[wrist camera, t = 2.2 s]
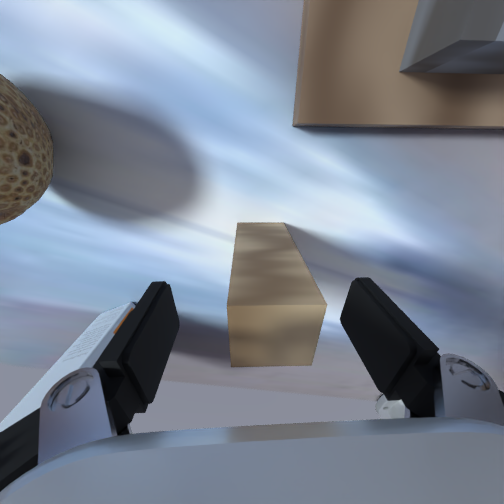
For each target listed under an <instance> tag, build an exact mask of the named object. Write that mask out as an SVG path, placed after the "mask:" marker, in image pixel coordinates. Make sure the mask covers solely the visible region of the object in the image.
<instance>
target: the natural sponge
mask: <svg viewBox="0 0 504 504" xmlns="http://www.w3.org/2000/svg"><path fill="white" fill-rule="evenodd" d="M52 176H53V141H52V138H51V135H50V132H49V129H48V127H47V125H46V124H45V122H44V120H43V119H42V117H41V115H40V114H39V112H38V111H37V109H36V108H35V107H34V105H33V104H32V103H31V102H30V101H29V100H28V99H27V97H26V96H25V95H24V94H23V93H22V92H21V91H20V90H19V89H18V88H17V87H16V86H15V85H14V84H12V83H11V82H10V81H9V80H8V79H6V78H5V77H4V76H3V75H1V74H0V224H3V223H6V222H8V221H11V220H13V219H15V218H16V217H18V216H19V215H21V214H23V213H24V212H25V211H26V210H27V209H28V208H30V207H31V206H32V205H33V204H35V203H36V202H37V201H38V200H39V199H40V198H41V197H42V195H43V194H44V192H45V191H46V189H47V188H48V186H49V184H50V182H51V179H52Z"/></svg>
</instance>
